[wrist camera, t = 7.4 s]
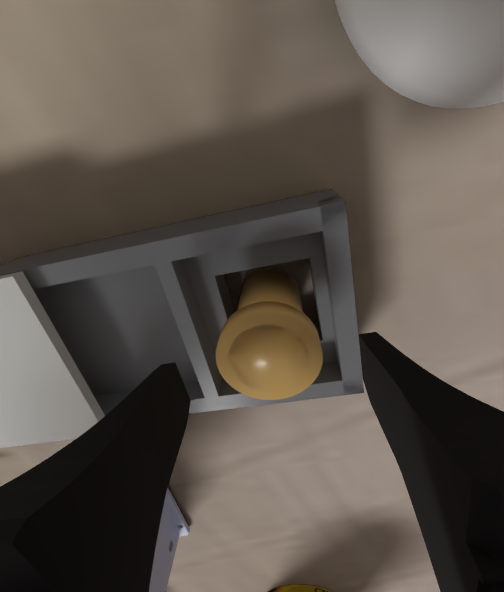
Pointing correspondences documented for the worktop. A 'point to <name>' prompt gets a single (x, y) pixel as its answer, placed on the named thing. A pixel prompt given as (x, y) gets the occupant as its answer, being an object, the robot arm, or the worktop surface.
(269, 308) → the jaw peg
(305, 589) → the yellow tin can
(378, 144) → the worktop surface
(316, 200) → the housing
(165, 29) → the worktop surface
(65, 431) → the lid
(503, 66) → the flower in vase
